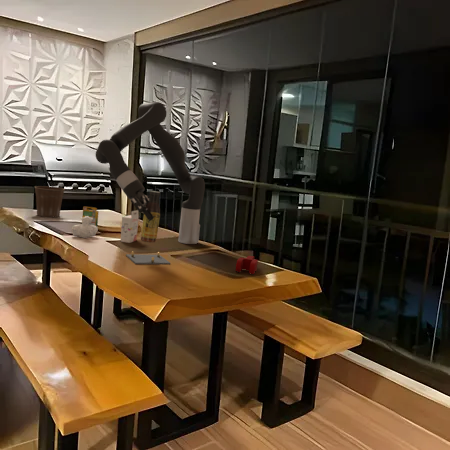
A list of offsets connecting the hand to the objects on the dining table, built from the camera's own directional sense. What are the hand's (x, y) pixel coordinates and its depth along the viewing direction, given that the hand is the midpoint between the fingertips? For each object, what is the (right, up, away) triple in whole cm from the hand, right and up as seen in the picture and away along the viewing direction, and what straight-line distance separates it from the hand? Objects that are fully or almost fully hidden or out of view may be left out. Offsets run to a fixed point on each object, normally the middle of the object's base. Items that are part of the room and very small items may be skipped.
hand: (155, 218), depth 182 cm
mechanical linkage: (+36, -21, +5) cm, 42 cm away
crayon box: (-42, -5, +56) cm, 70 cm away
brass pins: (-3, -16, +1) cm, 16 cm away
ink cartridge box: (-18, -10, +37) cm, 43 cm away
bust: (-38, -8, +34) cm, 51 cm away
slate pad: (-3, -16, +3) cm, 17 cm away
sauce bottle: (-3, -9, +2) cm, 10 cm away
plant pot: (-74, +3, +84) cm, 112 cm away
